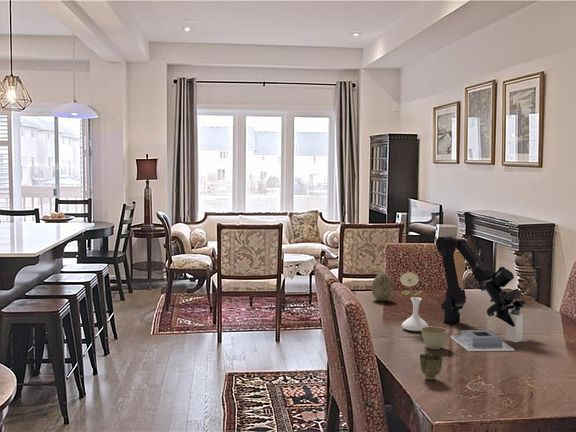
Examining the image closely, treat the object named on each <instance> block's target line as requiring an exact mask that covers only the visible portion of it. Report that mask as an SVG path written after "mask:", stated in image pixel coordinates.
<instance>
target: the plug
mask: <svg viewBox="0 0 576 432" xmlns="http://www.w3.org/2000/svg"><path fill="white" fill-rule="evenodd" d="M519 312H520V311H519V310H512V313H510V312H508V313H509V315H510V317H511V318H512V320H513V322H514V324H515V326H514V327H513V326H511V325H509V324H508V323H506V332H505V333H506V336H505V337H506V339H505V340H506V341H509V342H512V343H518V342H520V343H521V342H522V341H523V334H524V333H523V332H524V330H523V329H524V314H522V313H520V314H519Z"/></svg>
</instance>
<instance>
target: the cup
mask: <svg viewBox="0 0 576 432" xmlns="http://www.w3.org/2000/svg"><path fill="white" fill-rule="evenodd" d="M443 359H444V356H442V355H441V354H439V353H435V354H434V353H433V352H432V353H429V352H425V353H422V354H421V353H420V354H419V363H420V369H421V370H420V371H421V372H422V373H423V375H424V379H425V380H427V381H430V382H431V381H435V380H436V379H437V376H438V375H439V374H440V373H441V370H442V365H443Z"/></svg>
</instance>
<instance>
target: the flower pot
mask: <svg viewBox="0 0 576 432" xmlns="http://www.w3.org/2000/svg"><path fill="white" fill-rule="evenodd" d="M420 332H421V336H422V340H423V342H424V344H425V346H426V347H427V349H430V350H440V349H441V348H442V347H443V345H444V344H445V342H446V339H447V337H448V332H449V331H448V329H446V328H444V327H440V326H439V327H438V326H429V327H424V328H422V329H421V331H420Z"/></svg>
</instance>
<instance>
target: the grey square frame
mask: <svg viewBox="0 0 576 432" xmlns="http://www.w3.org/2000/svg"><path fill="white" fill-rule="evenodd" d="M450 338H451V339H452V340H454V341H455V342H457V343H458V344H459V345H460V346H461V347H463V348H464V349H465V350H466V351H467V352H514V351H515V348H513V347H512V346H511V345H509V344H507V343H506V342H504V341H503V339H504V338H503V337H502V336H500V335H499V334H497V333H496V332H494V331H493V330H491V329H461V334H459V335H458V334H451V335H450Z"/></svg>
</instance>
